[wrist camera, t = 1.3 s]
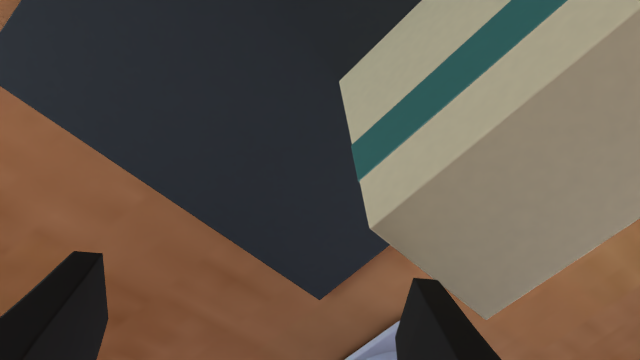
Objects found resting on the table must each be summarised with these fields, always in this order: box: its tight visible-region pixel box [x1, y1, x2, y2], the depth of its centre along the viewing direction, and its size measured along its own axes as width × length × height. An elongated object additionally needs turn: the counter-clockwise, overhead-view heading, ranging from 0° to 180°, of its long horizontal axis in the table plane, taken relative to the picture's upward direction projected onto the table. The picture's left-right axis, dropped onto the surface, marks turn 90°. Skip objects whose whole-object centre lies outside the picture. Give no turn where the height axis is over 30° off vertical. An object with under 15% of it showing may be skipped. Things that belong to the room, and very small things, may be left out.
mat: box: [0, 0, 422, 300], centre depth 19 cm, size 17×20×1 cm
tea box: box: [339, 0, 640, 319], centre depth 16 cm, size 5×7×9 cm, turn 136°
